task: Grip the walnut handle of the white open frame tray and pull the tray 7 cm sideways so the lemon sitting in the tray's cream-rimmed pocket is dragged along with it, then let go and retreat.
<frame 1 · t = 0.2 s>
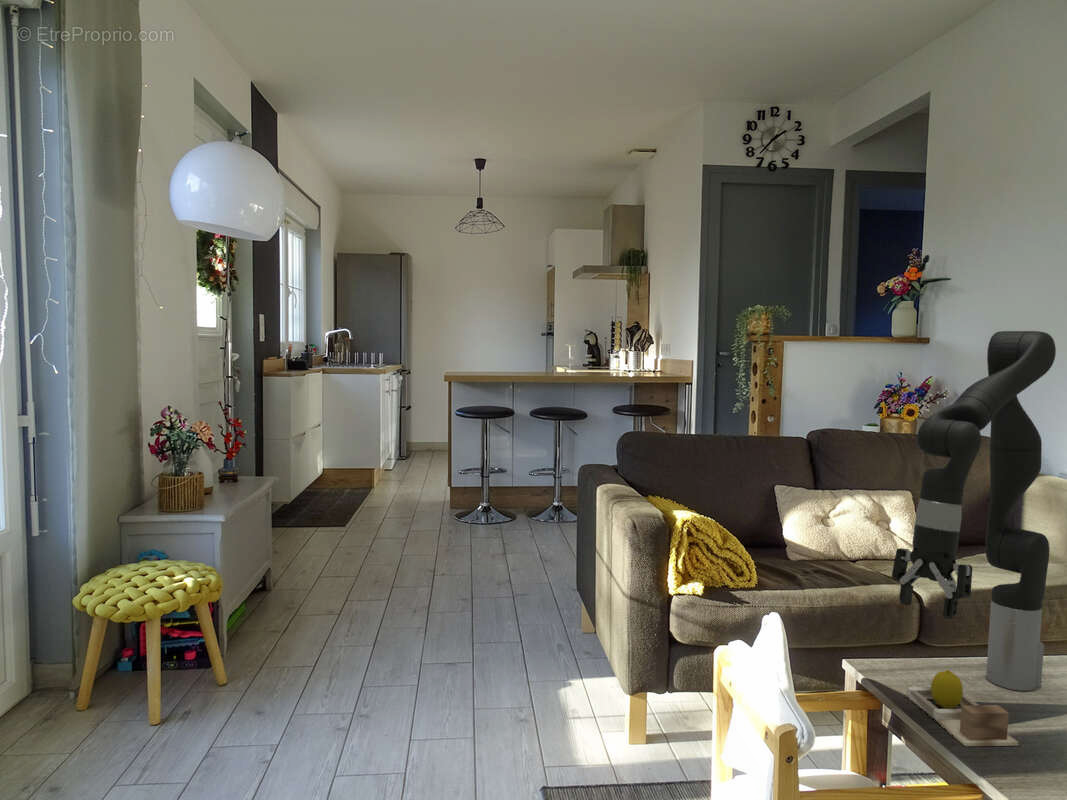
hand: (926, 611, 145), 22 cm above the table, tool pointing down, fingers open, 8 cm apart
lemon: (945, 710, 153), resting in white open frame tray
white open frame tray: (959, 705, 148), point 3 cm above the table, slide at 0.0 cm
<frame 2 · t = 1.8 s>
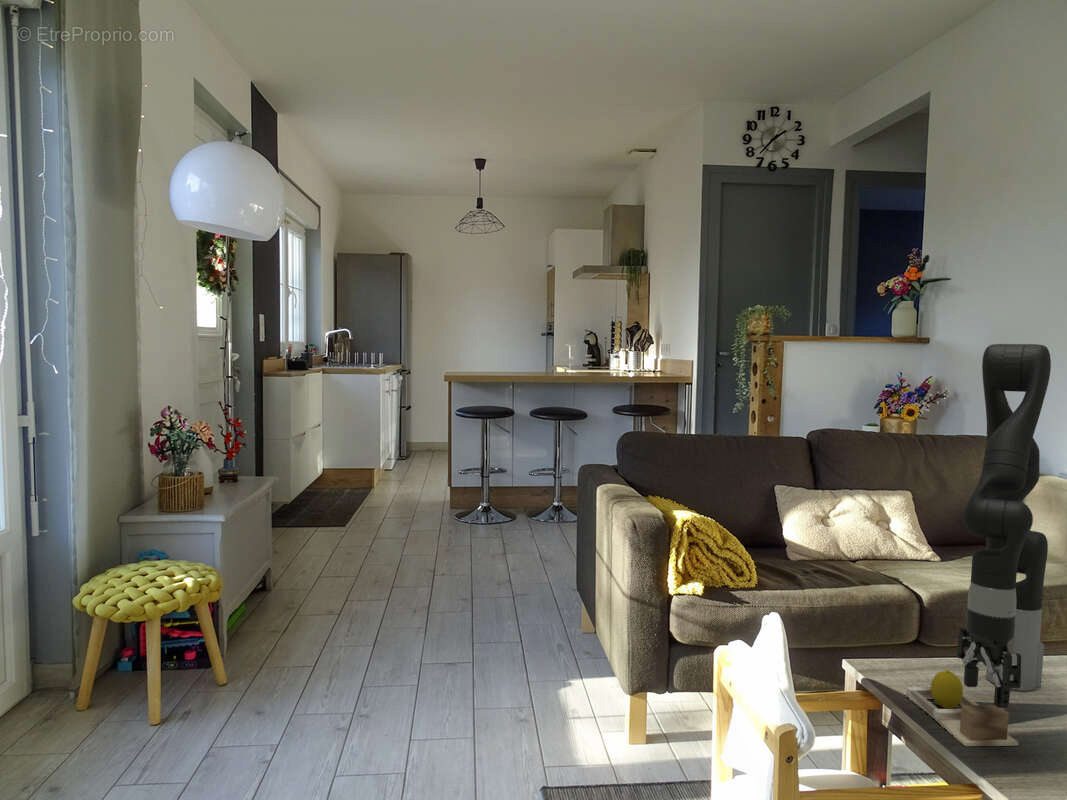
hand: (985, 696, 140), 8 cm above the table, tool pointing down, fingers open, 8 cm apart
nothing on the table moved.
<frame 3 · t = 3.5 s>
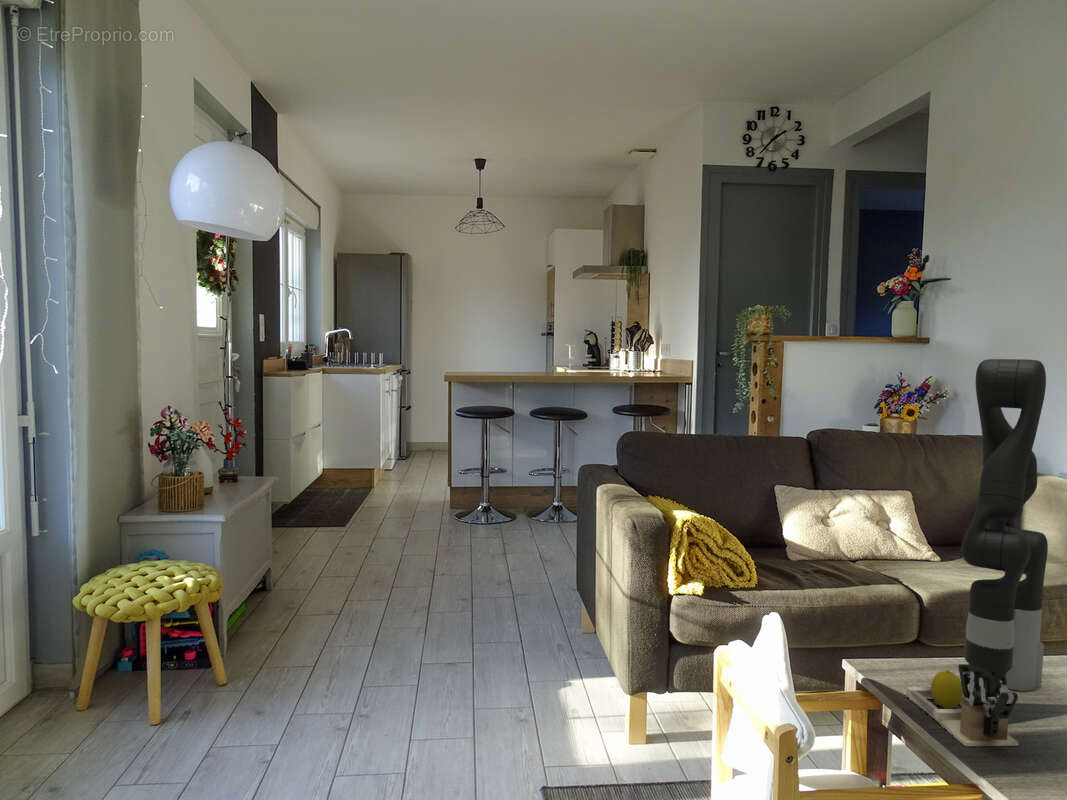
hand: (983, 730, 141), 2 cm above the table, tool pointing down, fingers closed on white open frame tray, 3 cm apart
white open frame tray: (959, 705, 148), point 3 cm above the table, slide at 0.0 cm, touching gripper
everything else where it was.
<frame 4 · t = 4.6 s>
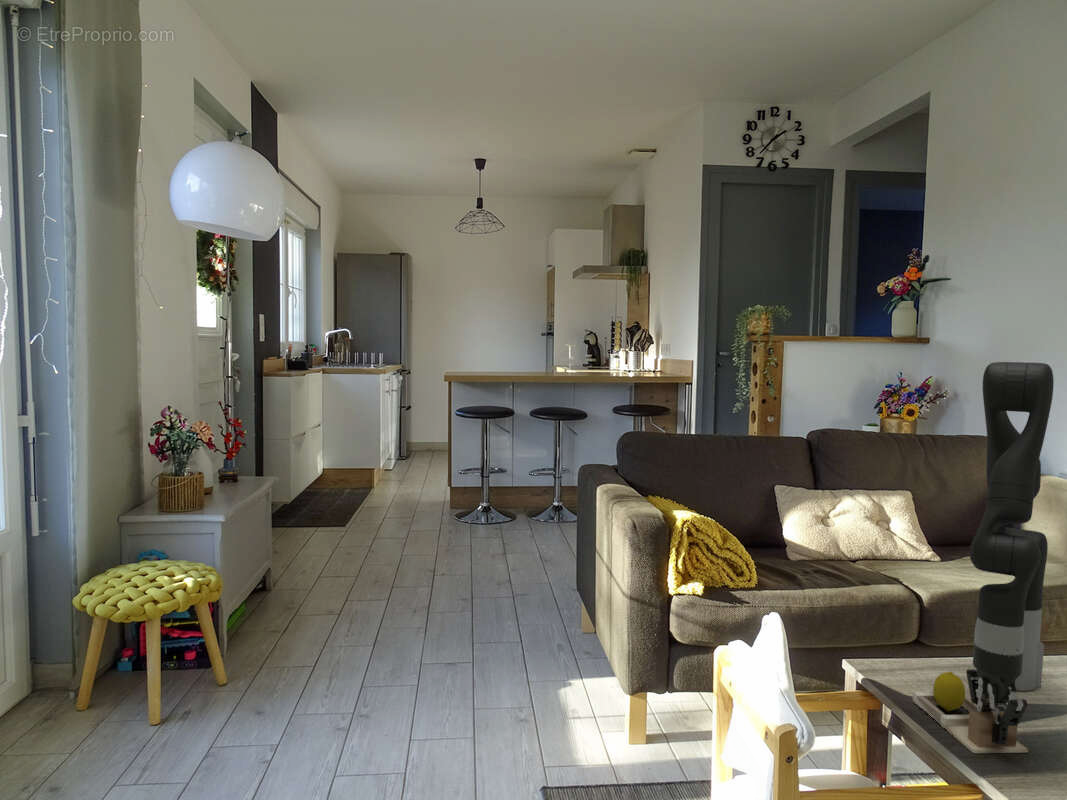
hand: (991, 737, 139), 2 cm above the table, tool pointing down, fingers closed on white open frame tray, 3 cm apart
white open frame tray: (967, 711, 146), point 3 cm above the table, slide at 2.4 cm, touching gripper
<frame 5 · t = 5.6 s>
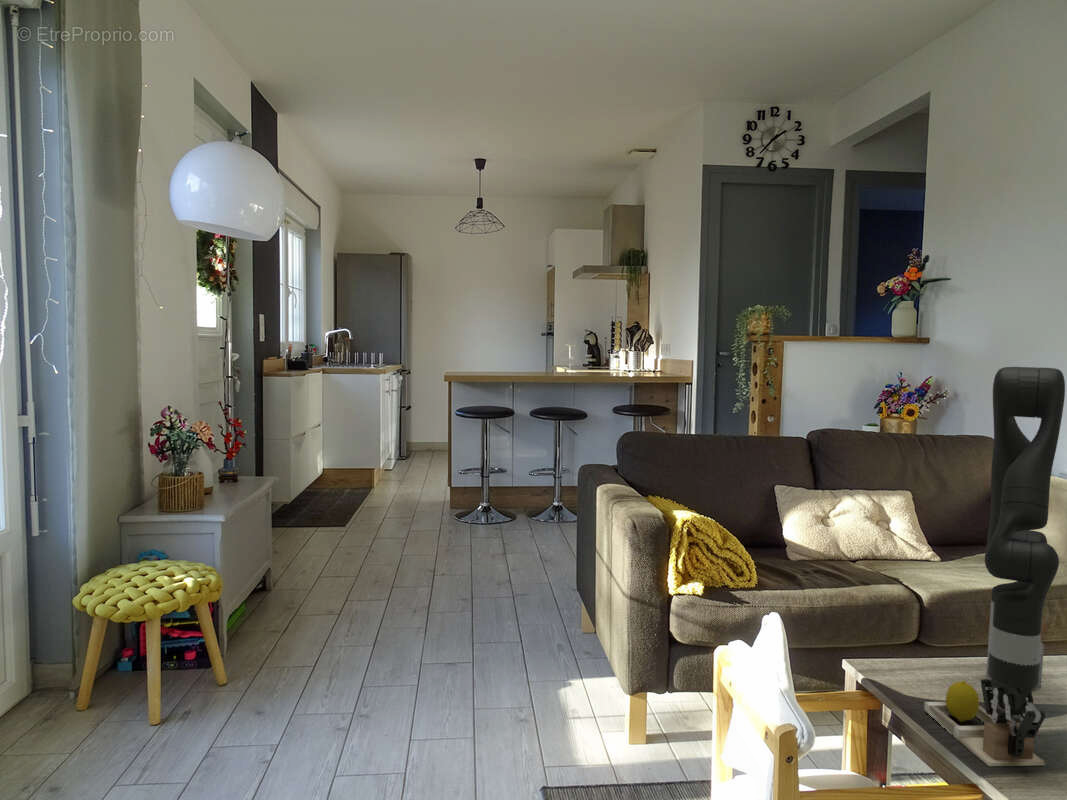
hand: (1007, 749, 135), 2 cm above the table, tool pointing down, fingers closed on white open frame tray, 3 cm apart
lemon: (960, 722, 148), resting in white open frame tray
white open frame tray: (981, 722, 142), point 3 cm above the table, slide at 6.6 cm, touching gripper, lemon
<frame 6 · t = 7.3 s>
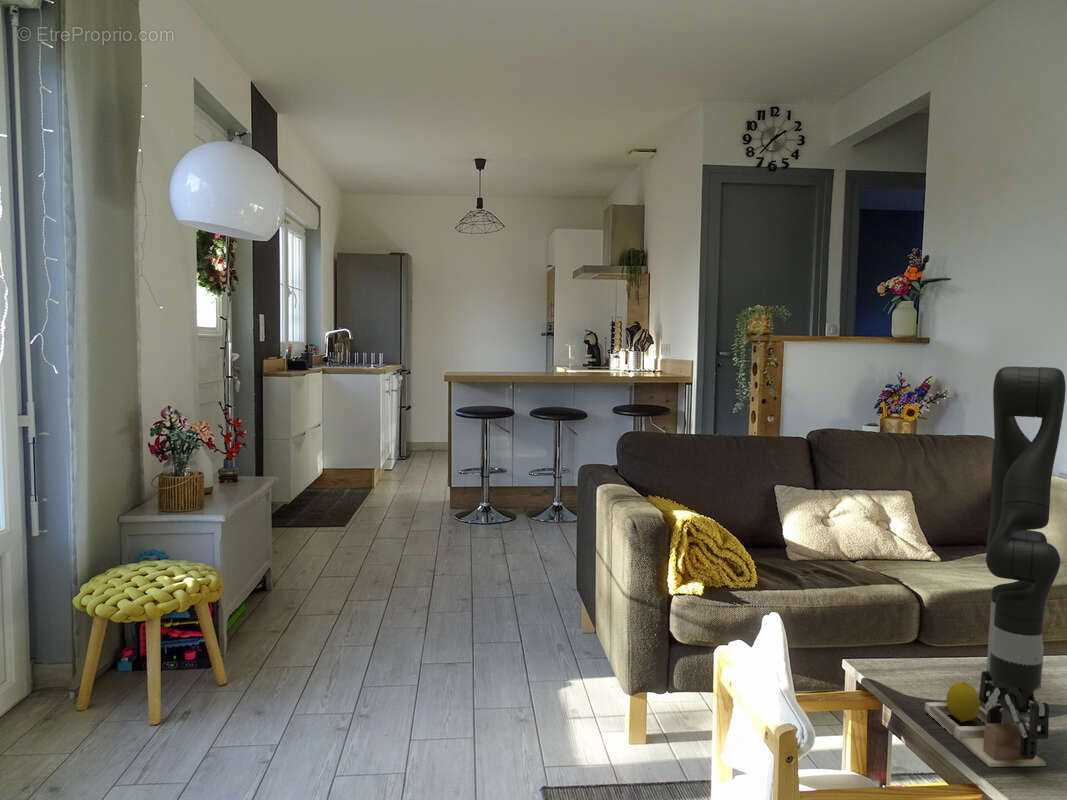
hand: (1009, 744, 134), 3 cm above the table, tool pointing down, fingers open, 8 cm apart
white open frame tray: (982, 722, 142), point 3 cm above the table, slide at 6.7 cm, touching lemon
everything else where it was.
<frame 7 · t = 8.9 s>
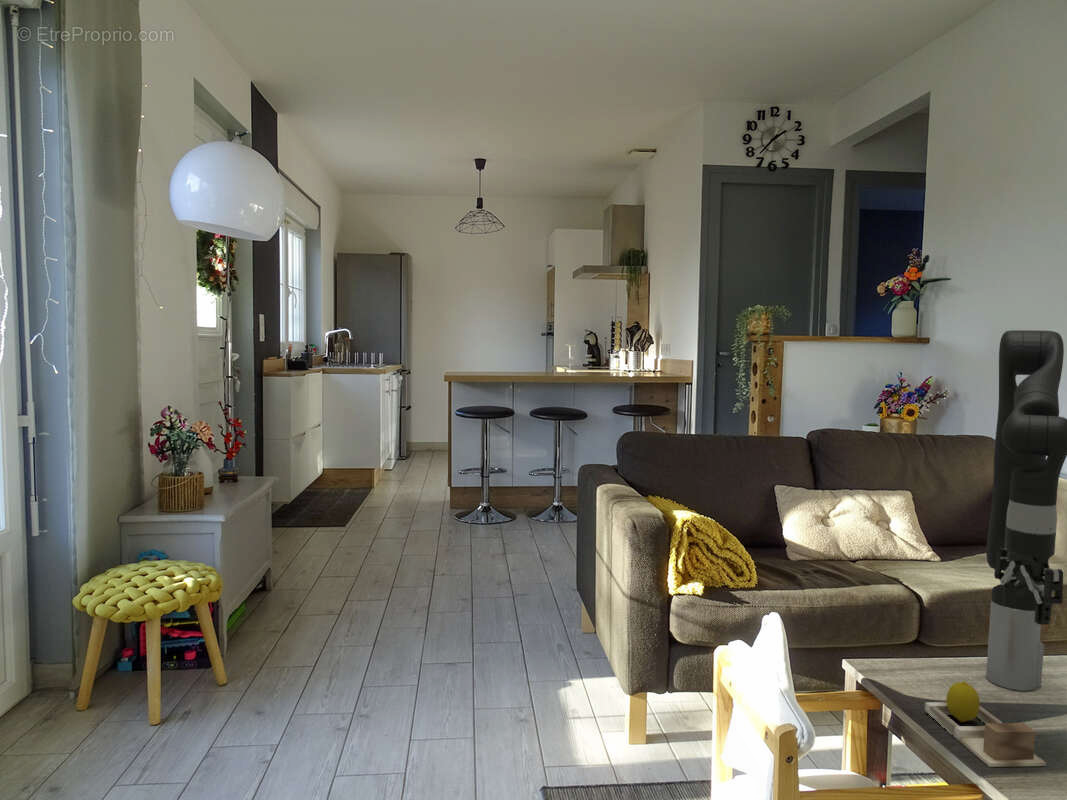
hand: (1024, 614, 139), 24 cm above the table, tool pointing down, fingers open, 8 cm apart
nothing on the table moved.
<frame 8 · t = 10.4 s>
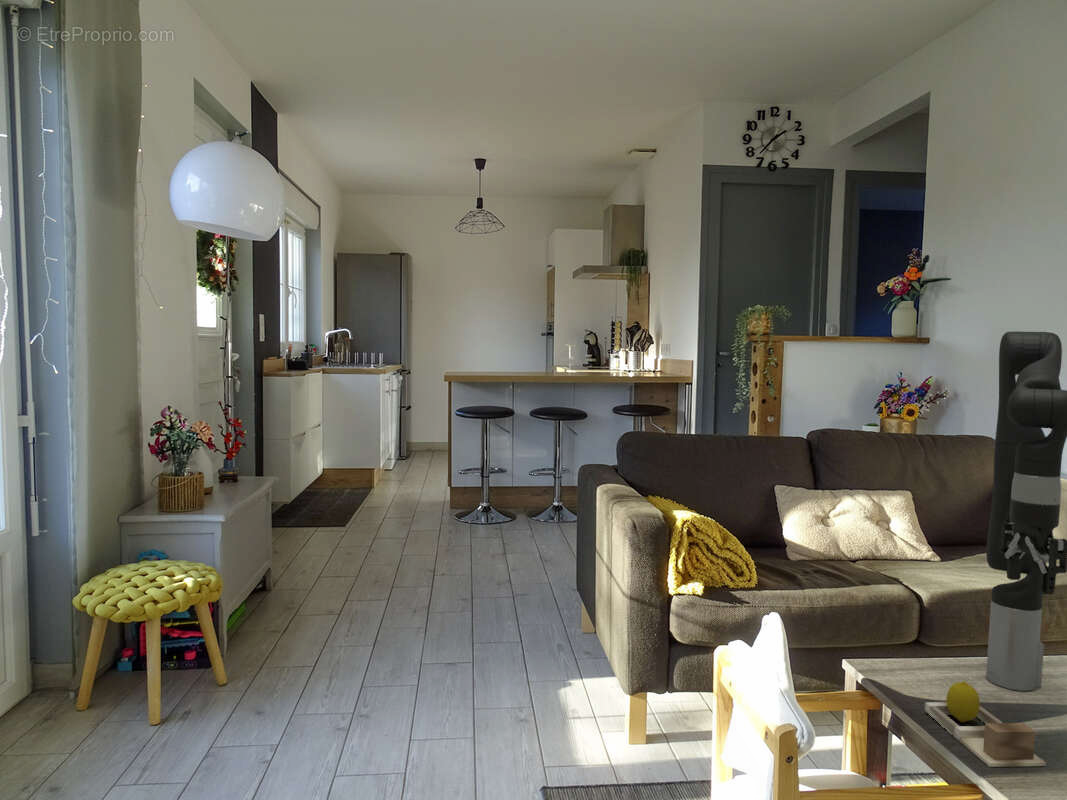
hand: (1029, 586, 141), 28 cm above the table, tool pointing down, fingers open, 8 cm apart
nothing on the table moved.
at the end: white open frame tray slide at 6.7 cm; lemon inside the target area (2.1 cm from its centre), resting in white open frame tray; the gripper is holding nothing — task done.
